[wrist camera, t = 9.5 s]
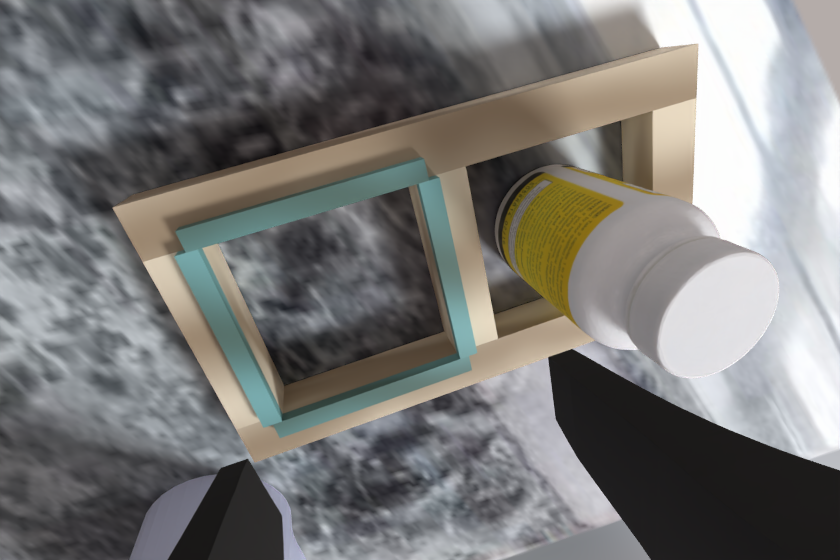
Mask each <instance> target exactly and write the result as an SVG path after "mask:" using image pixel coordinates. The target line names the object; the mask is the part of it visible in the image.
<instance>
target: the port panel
mask: <svg viewBox="0 0 840 560" xmlns="http://www.w3.org/2000/svg"><path fill="white" fill-rule="evenodd" d="M697 66H698V44H690V45H681V46H672V47H663V48H658V49H655V50H651V51H647V52H644V53H640V54H637V55H633V56H629V57H626V58H622V59H619V60H615V61H612V62H608V63H604V64H601V65H597V66H594V67H590V68H586V69H583V70H579V71H576V72H572V73H568V74H565V75H561V76H558V77H554V78H550V79H547V80H543V81H540V82H536V83H532V84H529V85H525V86H522V87H518V88H514V89H511V90H507V91H504V92H500V93H496V94H493V95H489V96H486V97H482V98H478V99H475V100H471V101H468V102H464V103H461V104H457V105H453V106H450V107H446V108H443V109H439V110H435V111H432V112H428V113H425V114H421V115H417V116H414V117H410V118H407V119H403V120H399V121H396V122H392V123H389V124H385V125H381V126H378V127H374V128H371V129H367V130H363V131H360V132H356V133H353V134H349V135H345V136H342V137H338V138H335V139H331V140H328V141H324V142H320V143H317V144H313V145H310V146H306V147H302V148H299V149H295V150H292V151H288V152H284V153H281V154H277V155H274V156H270V157H266V158H263V159H259V160H256V161H252V162H248V163H245V164H241V165H238V166H234V167H230V168H227V169H223V170H220V171H216V172H212V173H209V174H205V175H202V176H198V177H195V178H191V179H187V180H184V181H180V182H177V183H173V184H169V185H166V186H162V187H159V188H155V189H151V190H148V191H144V192H141V193H137V194H133V195H132V196H130V197H128V198H127V199H125V200H124V201H122V202H121V203H119V204H117V205H116V206H114V207H113V210H114V211H115V213H116V215H117V217H118V219H119V220H120V222H121V224H122V226H123V228H124V229H125V231H126V233H127V235H128V237H129V238H130V240H131V242H132V244H133V245H134V247H135V249H136V251H137V253H138V254H139V256H140V258H141V260H142V262H143V263H144V265H145V267H146V269H147V271H148V272H149V274H150V276H151V278H152V280H153V281H154V283H155V285H156V287H157V288H158V290H159V292H160V294H161V296H162V297H163V299H164V301H165V303H166V305H167V306H168V308H169V310H170V312H171V314H172V315H173V317H174V319H175V321H176V322H177V324H178V326H179V328H180V330H181V331H182V333H183V335H184V337H185V339H186V340H187V342H188V344H189V346H190V348H191V349H192V351H193V353H194V355H195V356H196V358H197V360H198V362H199V364H200V365H201V367H202V369H203V371H204V373H205V374H206V376H207V378H208V380H209V382H210V383H211V385H212V387H213V389H214V390H215V392H216V394H217V396H218V398H219V399H220V401H221V403H222V405H223V407H224V408H225V410H226V412H227V414H228V416H229V417H230V419H231V421H232V423H233V424H234V426H235V428H236V430H237V432H238V433H239V435H240V437H241V439H242V441H243V442H244V444H245V446H246V448H247V450H248V451H249V453H250V455H251V457H252V459H253V460H254V462H258V461H260V460H263V459H266V458H269V457H272V456H274V455H277V454H280V453H283V452H286V451H288V450H291V449H294V448H297V447H299V446H302V445H305V444H308V443H311V442H313V441H316V440H319V439H322V438H325V437H327V436H330V435H333V434H336V433H339V432H341V431H344V430H347V429H350V428H352V427H355V426H358V425H361V424H364V423H366V422H369V421H372V420H375V419H378V418H380V417H383V416H386V415H389V414H392V413H394V412H397V411H400V410H403V409H405V408H408V407H411V406H414V405H417V404H419V403H422V402H425V401H428V400H431V399H433V398H436V397H439V396H442V395H444V394H447V393H450V392H453V391H456V390H458V389H461V388H464V387H467V386H470V385H472V384H475V383H478V382H481V381H484V380H486V379H489V378H492V377H495V376H497V375H500V374H503V373H506V372H509V371H511V370H514V369H517V368H520V367H523V366H525V365H528V364H531V363H534V362H537V361H539V360H542V359H545V358H548V357H550V356H553V355H556V354H559V353H562V352H564V351H567V350H570V349H573V348H576V347H578V346H581V345H584V344H587V343H589V342H592V341H595V340H594V339H593V338H591V337H590V336H589V335H587V334H586V333H585V332H583V331H582V330H581V329H580V328H578V327H577V326H576V325H575V324H574V323H573V322H571V321H570V320H569V319H568V318H567V317H566V316H565V315H564V314H562V313H561V312H560V311H559V310H558V309H557V308H556V307H554V306H553V305H552V304H551V303H550V302H549V301H547V300H546V299H545V298H541V299H538V300H535V301H532V302H529V303H526V304H523V305H520V306H517V307H514V308H512V309H509V310H506V311H503V312H500V313H497V314H494V315H493V309H492V304H491V299H490V293H489V288H488V283H487V277H486V272H485V267H484V261H483V256H482V251H481V245H480V240H479V235H478V229H477V224H476V219H475V213H474V208H473V203H472V197H471V192H470V187H469V181H468V176H467V170H466V166H469V165H472V164H475V163H479V162H482V161H485V160H489V159H492V158H495V157H499V156H502V155H506V154H509V153H512V152H516V151H519V150H522V149H526V148H529V147H533V146H536V145H539V144H543V143H546V142H549V141H553V140H556V139H560V138H563V137H566V136H570V135H573V134H576V133H580V132H583V131H587V130H590V129H593V128H597V127H600V126H603V125H607V124H610V123H614V122H617V121H620V120H621V131H622V161H623V182H626V183H629V184H632V185H635V186H638V187H642V188H645V189H648V190H652V191H655V192H658V193H662V194H665V195H668V196H672V197H675V198H678V199H680V200H683V201H686V202H689V203H691V204H692V200H693V173H694V146H695V120H696V93H697ZM406 187H409V192H410V196H411V200H412V204H413V208H414V212H415V216H416V220H417V224H418V228H419V232H420V236H421V240H422V244H423V248H424V252H425V256H426V260H427V264H428V268H429V272H430V276H431V280H432V284H433V288H434V292H435V296H436V300H437V304H438V308H439V312H440V316H441V320H442V324H443V328H444V332H441V333H438V334H435V335H432V336H429V337H426V338H424V339H421V340H418V341H415V342H412V343H409V344H406V345H403V346H400V347H397V348H394V349H391V350H388V351H385V352H382V353H380V354H377V355H374V356H371V357H368V358H365V359H362V360H359V361H356V362H353V363H350V364H347V365H344V366H341V367H338V368H336V369H333V370H330V371H327V372H324V373H321V374H318V375H315V376H312V377H309V378H306V379H303V380H300V381H297V382H294V383H292V384H289V385H286V386H284V384H283V382H282V380H281V378H280V376H279V374H278V371H277V369H276V367H275V365H274V363H273V361H272V359H271V356H270V354H269V352H268V350H267V348H266V346H265V344H264V341H263V339H262V337H261V335H260V333H259V331H258V329H257V327H256V324H255V322H254V320H253V318H252V316H251V314H250V312H249V309H248V307H247V305H246V303H245V301H244V299H243V297H242V294H241V292H240V290H239V288H238V286H237V284H236V282H235V279H234V277H233V275H232V273H231V271H230V269H229V267H228V265H227V262H226V260H225V258H224V256H223V254H222V252H221V250H220V247H219V245H218V243H221V242H224V241H228V240H231V239H235V238H238V237H241V236H245V235H248V234H251V233H255V232H258V231H261V230H265V229H268V228H272V227H275V226H278V225H282V224H285V223H288V222H292V221H295V220H298V219H302V218H305V217H309V216H312V215H315V214H319V213H322V212H325V211H329V210H332V209H335V208H339V207H342V206H346V205H349V204H352V203H356V202H359V201H362V200H366V199H369V198H372V197H376V196H379V195H383V194H386V193H389V192H393V191H396V190H399V189H403V188H406Z"/></svg>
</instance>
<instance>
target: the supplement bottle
mask: <svg viewBox="0 0 840 560" xmlns="http://www.w3.org/2000/svg"><path fill="white" fill-rule="evenodd" d="M495 239H496V243H497V247H498V250H499V252H500V255H501V256H502V258H503V260H504V261H505V262H506V263H507V265H508V266H509V267H510V268H511V269H512V270H513V271H514V272H515V273H516V274H517V275H519V276H520V277H521V278H522V279H523V280H524V281H526V282H527V283H528V284H529V285H530V286H531V287H532V288H533V289H535V290H536V291H537V292H538V293H539V294H540V295H542V296H543V297H544V298H545V299H546V300H547V301H549V302H550V303H551V304H552V305H553V306H554V307H556V308H557V309H558V310H559V311H560V312H561V313H562V314H564V315H565V316H566V317H567V318H568V319H569V320H570V321H571V322H573V323H574V324H575V325H576V326H577V327H578V328H580V329H581V330H582V331H583V332H585V333H586V334H587V335H589V336H590V337H591V338H593V339H594V340H596V341H598V342H599V343H601V344H604V345H606V346H609V347H612V348H616V349H623V350H636V349H639V351H640V352H642V353H643V354H644V355H645V356H647V357H649V358H650V359H652V360H653V361H654V362H656V363H657V364H658V365H659V366H661V367H662V368H663V369H665V370H666V371H667V372H669V373H671V374H673V375H675V376H678V377H683V378H701V377H705V376H709V375H713V374H715V373H718V372H720V371H722V370H724V369H726V368H728V367H729V366H731V365H732V364H734V363H735V362H737V361H738V360H739V359H741V358H742V357H743V356H744V355H745V354H746V353H747V352H748V351H749V350H750V349H752V348H753V347H754V345H755V344H756V343H757V342H758V340H759V339H760V338H761V337H762V335H763V334H764V332H765V331H766V329H767V327H768V326H769V324H770V322H771V320H772V318H773V315H774V313H775V310H776V307H777V303H778V298H779V280H778V276H777V273H776V271H775V269H774V267H773V265H772V264H771V262H770V261H768V260H767V259H766V258H765V257H764V256H762V255H761V254H759V253H757V252H754V251H752V250H749V249H746V248H744V247H741V246H739V245H736V244H733V243H731V242H729V241H726V240H722V239H720V235H719V233H718V230H717V228H716V226H715V225H714V223H713V222H712V220H711V219H710V218H709V217H708V216H707V215H706V214H705V212H703V211H702V210H701V209H699V208H698V207H696V206H694V205H693V204H691V203H689V202H686V201H683V200H680V199H678V198H675V197H672V196H668V195H665V194H662V193H658V192H655V191H652V190H648V189H645V188H642V187H638V186H635V185H632V184H629V183H626V182H622V181H619V180H616V179H613V178H609V177H606V176H604V175H600V174H597V173H594V172H591V171H587V170H584V169H580V168H577V167H574V166H568V165H559V164H557V165H548V166H544V167H541V168H538V169H536V170H533V171H531V172H530V173H528V174H526V175H525V176H523V177H522V178H521V179H520V180H519V181H517V182H516V183H515V184H514V185H513V186H512V188H511V189H510V190H509V191H508V193H507V194H506V196H505V197H504V199H503V201H502V203H501V205H500V207H499V210H498V213H497V217H496V222H495Z"/></svg>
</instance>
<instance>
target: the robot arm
mask: <svg viewBox="0 0 840 560" xmlns="http://www.w3.org/2000/svg"><path fill="white" fill-rule="evenodd" d="M548 359H549V367H550V376H551V384H552V392H553V400H554V408H555V416H556V420H557V422H558V424H559V426H560V428H561V429H562V431H563V433H564V435H565V437H566V438H567V440H568V442H569V444H570V445H571V447H572V449H573V451H574V452H575V454H576V456H577V457H578V459H579V460H580V462H581V463H582V464H583V466H584V467H585V469H586V470H587V471H588V473H589V474H590V476H591V477H592V478H593V480H594V481H595V483H596V484H597V485H598V487H599V488H600V489H601V491H602V492H603V494H604V495H605V496H606V498H607V499H608V500H609V502H610V503H611V504H612V506H613V507H614V509H615V510H616V511H617V513H618V514H619V515H620V517H621V518H622V520H623V521H624V522H625V524H626V525H627V526H628V528H629V529H630V530H631V532H632V533H633V535H634V536H635V537H636V539H637V540H638V541H639V542H640V544H641V546H642V547H643V549H644V550H645V552H646V553H647V554H648V556H649V557H650V559H651V560H840V471H839V470H837V469H834V468H831V467H827V466H825V465H821V464H819V463H816V462H813V461H810V460H807V459H804V458H801V457H798V456H795V455H792V454H790V453H787V452H784V451H781V450H779V449H776V448H773V447H771V446H768V445H766V444H763V443H760V442H758V441H755V440H753V439H750V438H748V437H745V436H743V435H740V434H738V433H735V432H733V431H730V430H728V429H726V428H723V427H721V426H719V425H717V424H714V423H712V422H710V421H708V420H706V419H703V418H701V417H699V416H697V415H695V414H693V413H690V412H688V411H686V410H684V409H682V408H680V407H678V406H676V405H674V404H672V403H670V402H668V401H666V400H664V399H662V398H660V397H658V396H656V395H654V394H652V393H651V392H649V391H647V390H645V389H643V388H641V387H639V386H637V385H635V384H634V383H632V382H630V381H628V380H626V379H624V378H623V377H621V376H619V375H617V374H616V373H614V372H612V371H610V370H608V369H607V368H605V367H603V366H601V365H600V364H598V363H596V362H594V361H593V360H591V359H589V358H587V357H586V356H584V355H582V354H580V353H579V352H577V351H575V350H573V349H570V350H567V351H565V352H562V353H559V354H556V355H553V356H550V357H548ZM129 560H306V558H305V556H304V554H303V552H302V551H301V549H300V547H299V545H298V544H297V542H296V539H295V537H294V534H293V530H292V518H291V510H290V507H289V505H288V502H287V500H286V499H285V498H284V496H283V495H282V494H281V493H280V492H279V491H278V490H277V489H275V488H274V487H273V486H272V485H270V484H268V483H266V482H264V481H262V480H260V478H259V477H258V475H257V473H256V472H255V470H254V468H253V467H252V465H251V463H250V462H249V460H248V459H246V460H243V461H240V462H237V463H234V464H231V465H228V466H225V467H223V468H221V469H220V470H219V472H218V474H215V475H208V476H202V477H198V478H195V479H191V480H188V481H186V482H183V483H181V484H179V485H177V486H175V487H173V488H171V489H170V490H168V491H167V492H165V493H164V494H162V495H161V496H160V497H159V498H158V499H157V500H156V501H155V502H154V503H153V504H152V506H151V507H150V509H149V510H148V511H147V513H146V515H145V518H144V521H143V523H142V526H141V529H140V532H139V534H138V537H137V540H136V543H135V545H134V548H133V551H132V554H131V556H130V559H129Z"/></svg>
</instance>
